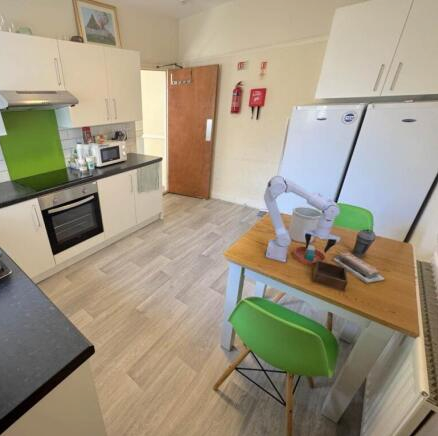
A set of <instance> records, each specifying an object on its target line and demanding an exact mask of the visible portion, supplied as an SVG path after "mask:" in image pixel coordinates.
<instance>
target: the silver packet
mask: <svg viewBox="0 0 438 436" xmlns="http://www.w3.org/2000/svg"><path fill="white" fill-rule="evenodd" d="M315 249H316V246H315V245H312V244H309V245H308V249H306V252H305V256H306V253H307V250H311V251H315Z"/></svg>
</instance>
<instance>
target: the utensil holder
mask: <svg viewBox="0 0 438 436" xmlns="http://www.w3.org/2000/svg"><path fill="white" fill-rule="evenodd" d="M321 212H322V211H321V210H319V209H317V208H315V207H313V206H309V205H307V206H306V205H298V206H295V207H293V208H292V214H291V218H290V222H289V226H288V231H289V236H290V239H291V240H293V241H296V242H299V243H305V244H306V239H305V235H304V234H303V231H304V229H305V230H315V229H316V226H317V223H318V221H319V218H320V215H321ZM315 237H316V236H311V239H310V242H309V243H313V241H314V240H315Z"/></svg>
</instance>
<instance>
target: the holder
mask: <svg viewBox="0 0 438 436" xmlns="http://www.w3.org/2000/svg"><path fill="white" fill-rule="evenodd" d="M312 270H313V271H312V273H313V274H312V282H313V283H316V284H319V285H322V286H325V287H328V288H332V289H334V290H339V291H341V292H344V291H345V289H346V287H347V285H348V283H349V281H348V275H347V270H346V268H345V267H342V266H340V265H339V264H333V263H330V262H327V261H326V262H322V261H318V260H316V263H315V265H314V266H313V269H312Z"/></svg>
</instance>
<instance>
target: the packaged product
mask: <svg viewBox="0 0 438 436" xmlns="http://www.w3.org/2000/svg"><path fill="white" fill-rule="evenodd" d="M332 261H333V262H335V263H336V264H337V265H338V266H342V267H345V268H346V271H347V272H349V273H351V274H352V275H353V276H355V277H356V278H358V279H359V280H360V281H362V282H363V283H365V284H370V283H376V282H380V281H384V280H385V277H384V276H382V275H381V274H380V273H381V271H380V270H378V269H376V268H375V267H374V266H371V265H370V264H368V263H366V262H365V261H363V260H362V259H361V258H358V257H355V256H354V255H353V253H351V252H347V251H346V252H340V253H337V255H336V256H335V257H334V258H332Z"/></svg>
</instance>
